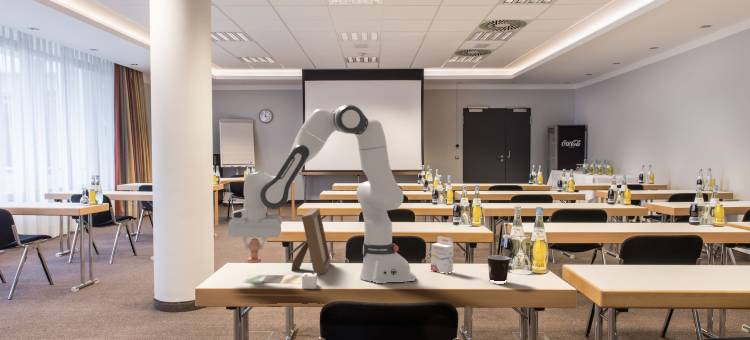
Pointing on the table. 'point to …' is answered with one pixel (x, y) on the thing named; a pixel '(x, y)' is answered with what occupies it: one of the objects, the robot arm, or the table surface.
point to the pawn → (254, 251)
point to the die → (309, 280)
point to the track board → (273, 279)
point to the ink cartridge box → (442, 255)
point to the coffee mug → (498, 267)
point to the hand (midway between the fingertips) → (254, 248)
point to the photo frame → (313, 243)
